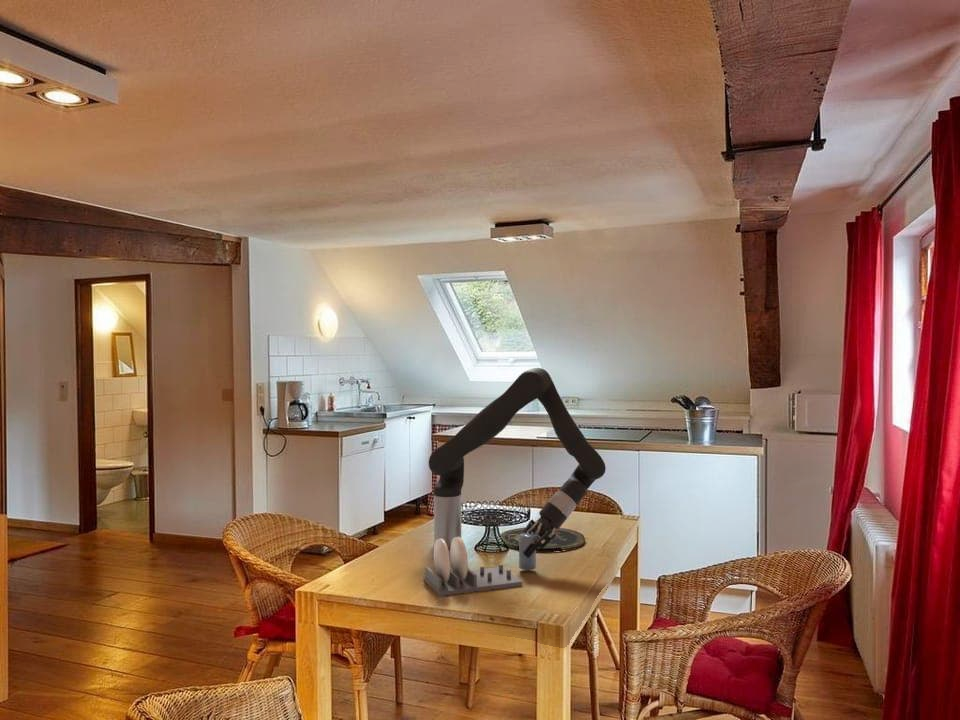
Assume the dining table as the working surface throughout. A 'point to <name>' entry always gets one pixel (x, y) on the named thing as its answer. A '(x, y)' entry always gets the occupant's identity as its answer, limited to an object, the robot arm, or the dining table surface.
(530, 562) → the grey dome-topped cylinder
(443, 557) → the dish rack
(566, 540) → the decorative plate
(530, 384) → the robot arm
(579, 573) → the dining table surface
